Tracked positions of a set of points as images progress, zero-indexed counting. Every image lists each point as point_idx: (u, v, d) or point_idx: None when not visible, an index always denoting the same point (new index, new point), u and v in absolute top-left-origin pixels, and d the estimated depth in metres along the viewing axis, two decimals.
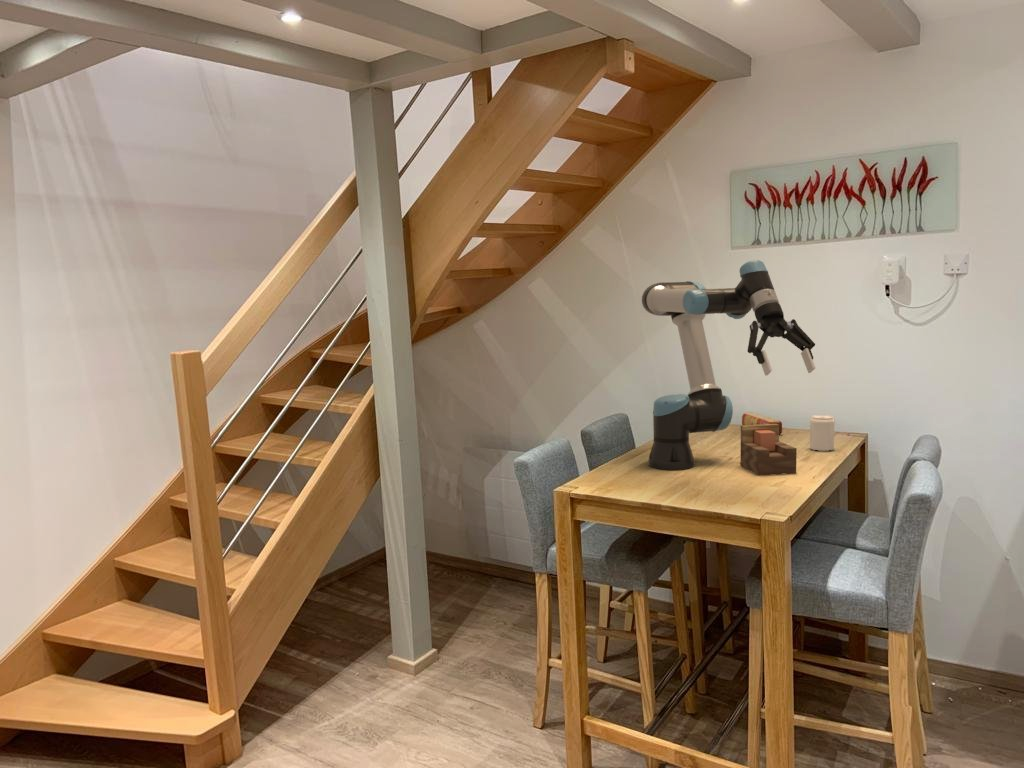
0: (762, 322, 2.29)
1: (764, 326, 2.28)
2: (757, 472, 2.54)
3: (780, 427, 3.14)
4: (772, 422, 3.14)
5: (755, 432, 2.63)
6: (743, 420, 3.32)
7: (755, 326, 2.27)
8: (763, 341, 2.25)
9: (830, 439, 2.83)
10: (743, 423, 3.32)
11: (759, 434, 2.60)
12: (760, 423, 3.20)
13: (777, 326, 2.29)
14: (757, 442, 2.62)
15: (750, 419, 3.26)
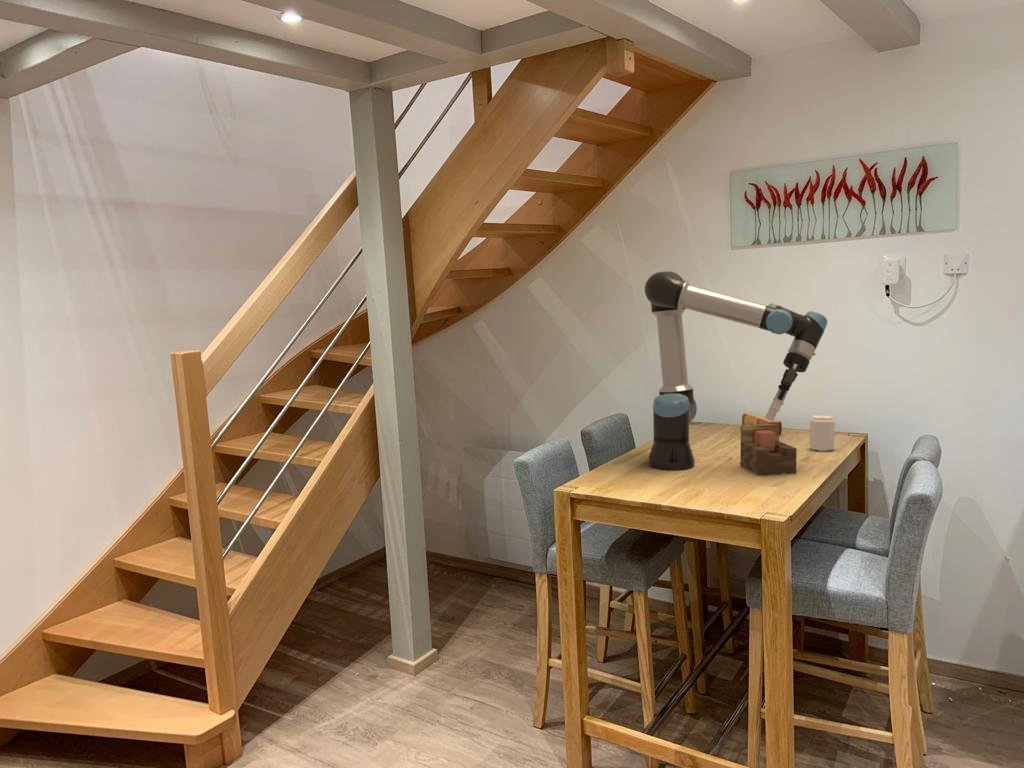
0: None
1: None
2: (757, 472, 2.54)
3: (780, 427, 3.14)
4: (772, 422, 3.14)
5: (755, 432, 2.63)
6: (743, 420, 3.32)
7: (797, 370, 2.53)
8: None
9: (830, 439, 2.83)
10: (743, 423, 3.32)
11: (759, 434, 2.60)
12: (760, 423, 3.20)
13: None
14: (757, 442, 2.62)
15: (750, 419, 3.26)
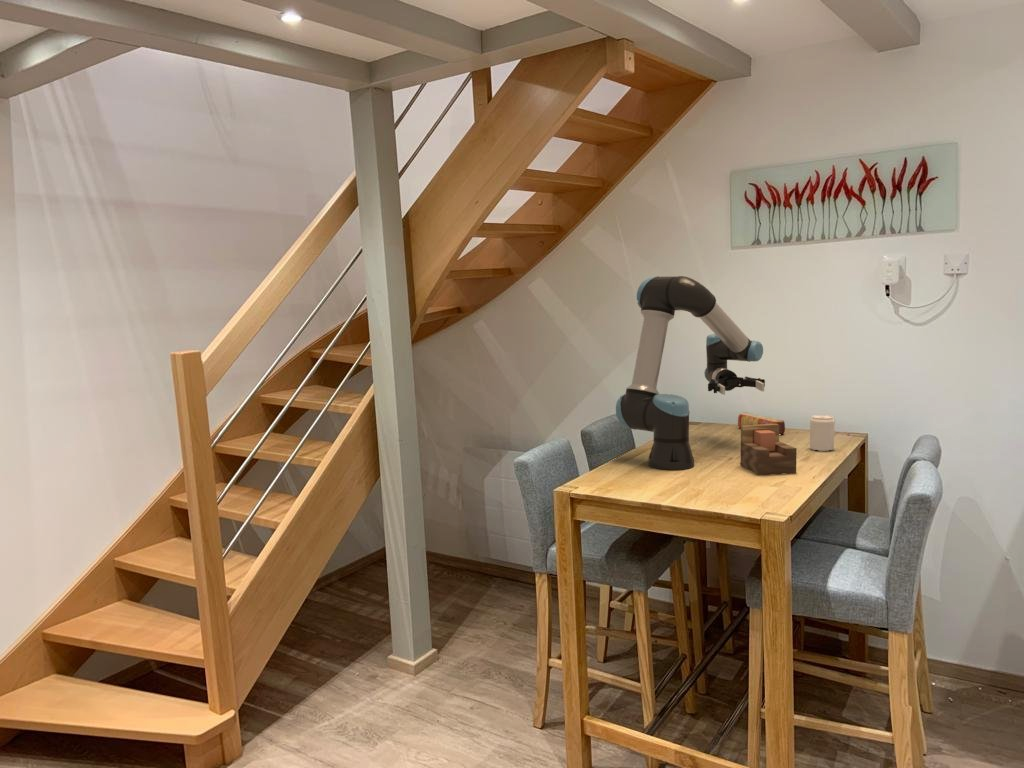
0: None
1: None
2: (757, 472, 2.54)
3: (783, 426, 3.15)
4: (776, 422, 3.14)
5: (755, 432, 2.63)
6: (740, 421, 3.30)
7: None
8: None
9: (830, 439, 2.83)
10: (740, 424, 3.30)
11: (759, 434, 2.60)
12: (762, 423, 3.19)
13: None
14: (757, 442, 2.62)
15: (749, 420, 3.25)
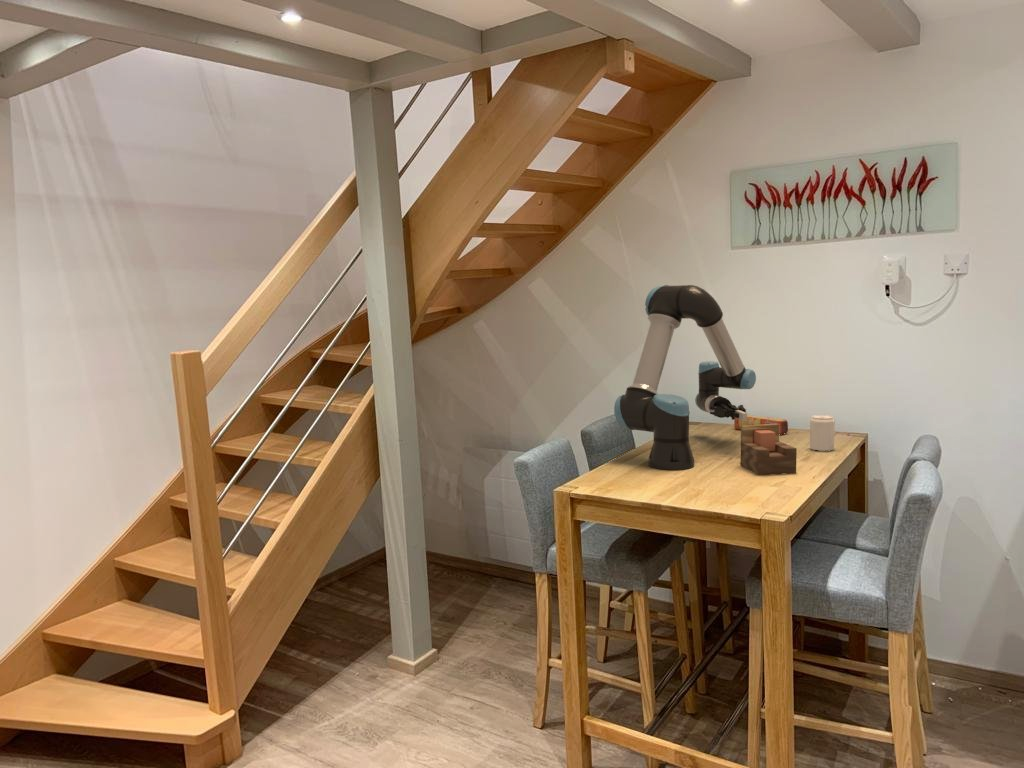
0: None
1: None
2: (757, 472, 2.54)
3: (787, 425, 3.17)
4: (782, 421, 3.15)
5: (755, 432, 2.63)
6: (737, 422, 3.28)
7: None
8: None
9: (830, 439, 2.83)
10: (737, 425, 3.28)
11: (759, 434, 2.60)
12: (765, 423, 3.19)
13: None
14: (757, 442, 2.62)
15: (749, 420, 3.24)
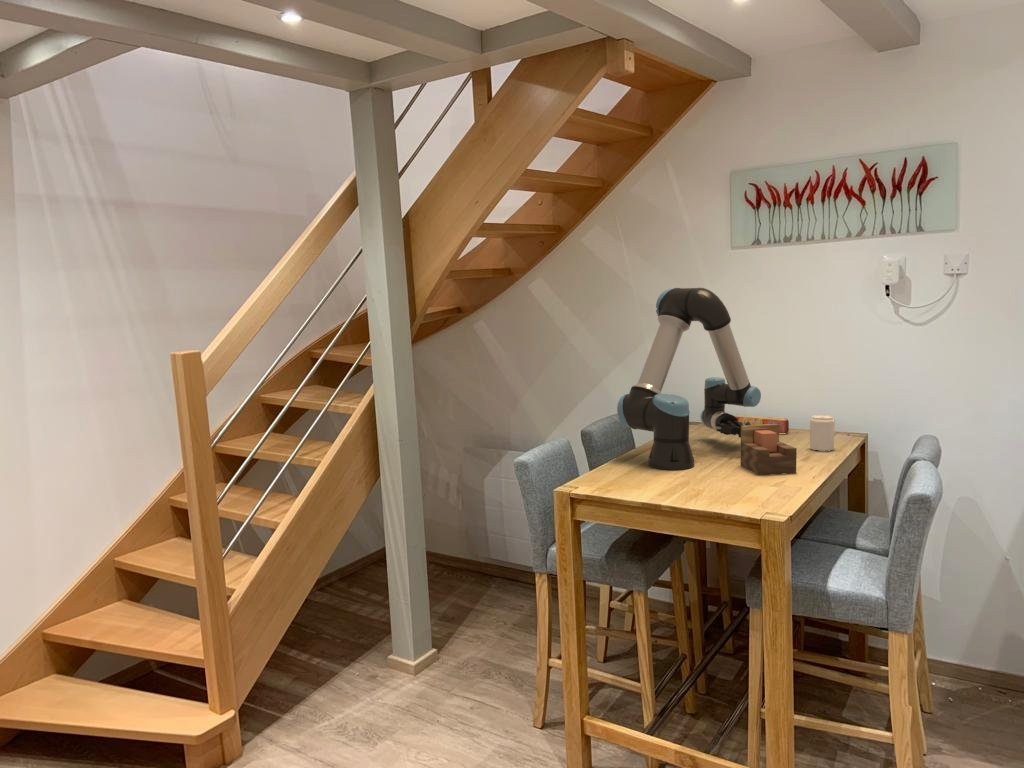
0: None
1: None
2: (757, 472, 2.54)
3: (788, 424, 3.20)
4: (786, 420, 3.17)
5: (757, 433, 2.62)
6: None
7: None
8: None
9: (830, 439, 2.83)
10: None
11: (761, 435, 2.59)
12: (768, 423, 3.19)
13: None
14: (759, 443, 2.60)
15: (750, 421, 3.22)
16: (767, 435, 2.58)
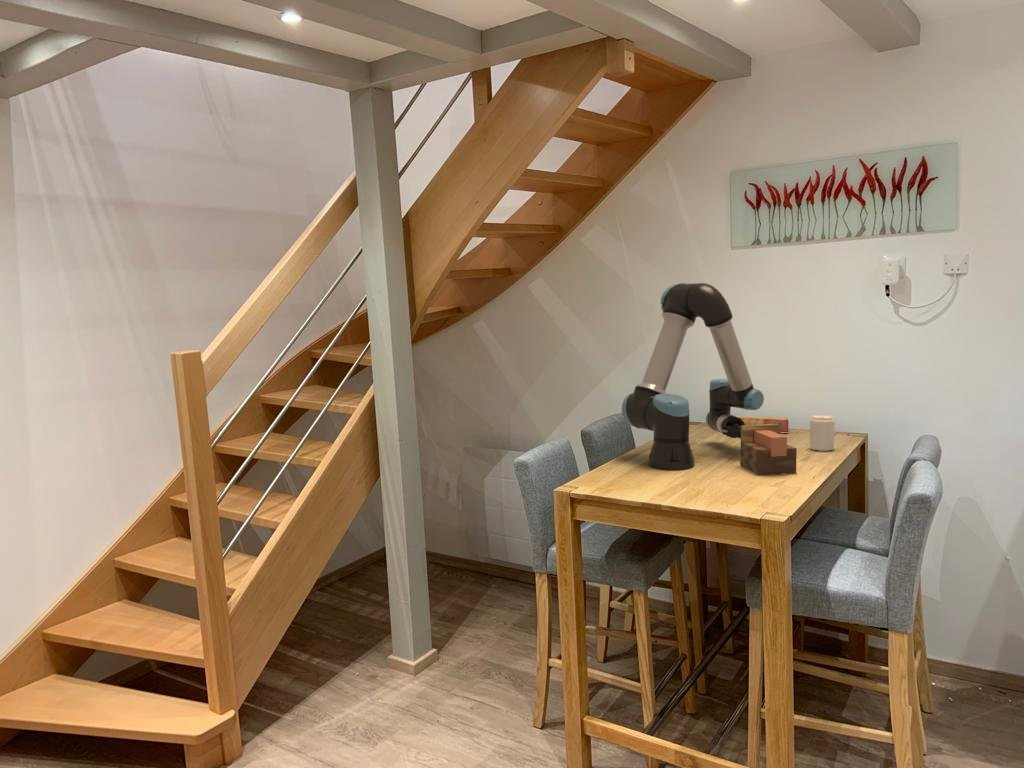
0: None
1: None
2: (757, 472, 2.54)
3: None
4: (787, 420, 3.18)
5: (766, 436, 2.55)
6: None
7: None
8: None
9: (830, 439, 2.83)
10: None
11: (770, 439, 2.52)
12: (770, 423, 3.19)
13: None
14: (768, 447, 2.54)
15: (752, 422, 3.21)
16: (777, 439, 2.52)
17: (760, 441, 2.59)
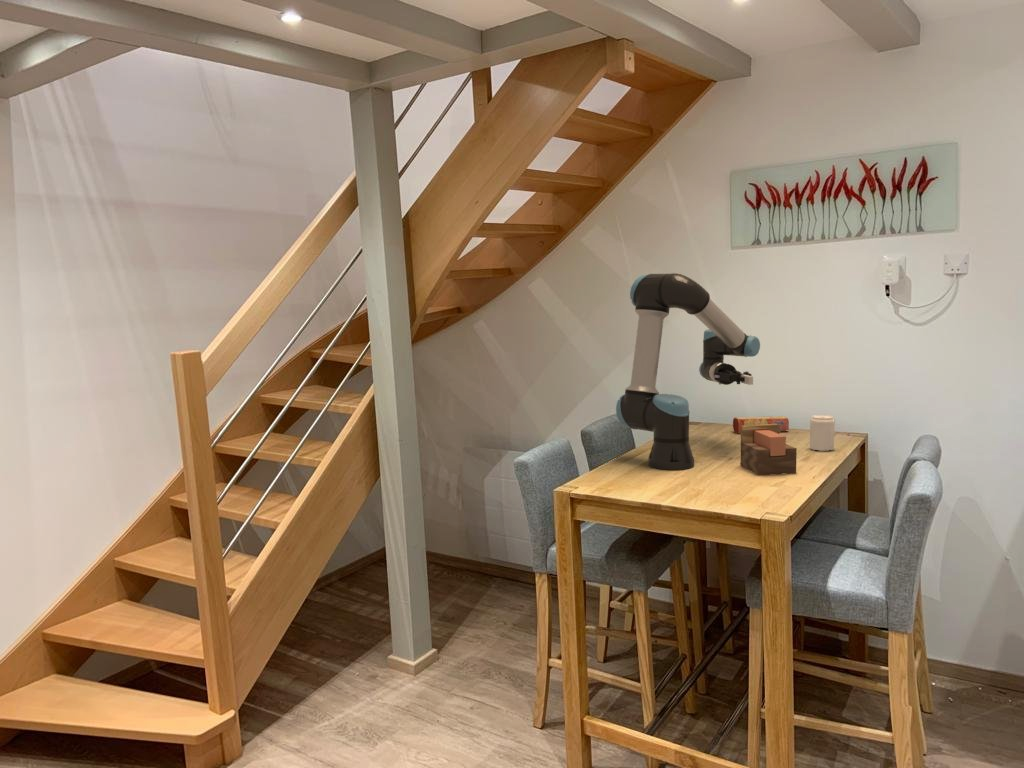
0: None
1: None
2: (757, 472, 2.54)
3: None
4: (787, 418, 3.22)
5: (765, 436, 2.56)
6: None
7: None
8: None
9: (830, 439, 2.83)
10: None
11: (769, 438, 2.53)
12: (773, 422, 3.20)
13: None
14: (767, 446, 2.55)
15: (756, 422, 3.19)
16: (775, 438, 2.52)
17: (759, 440, 2.60)
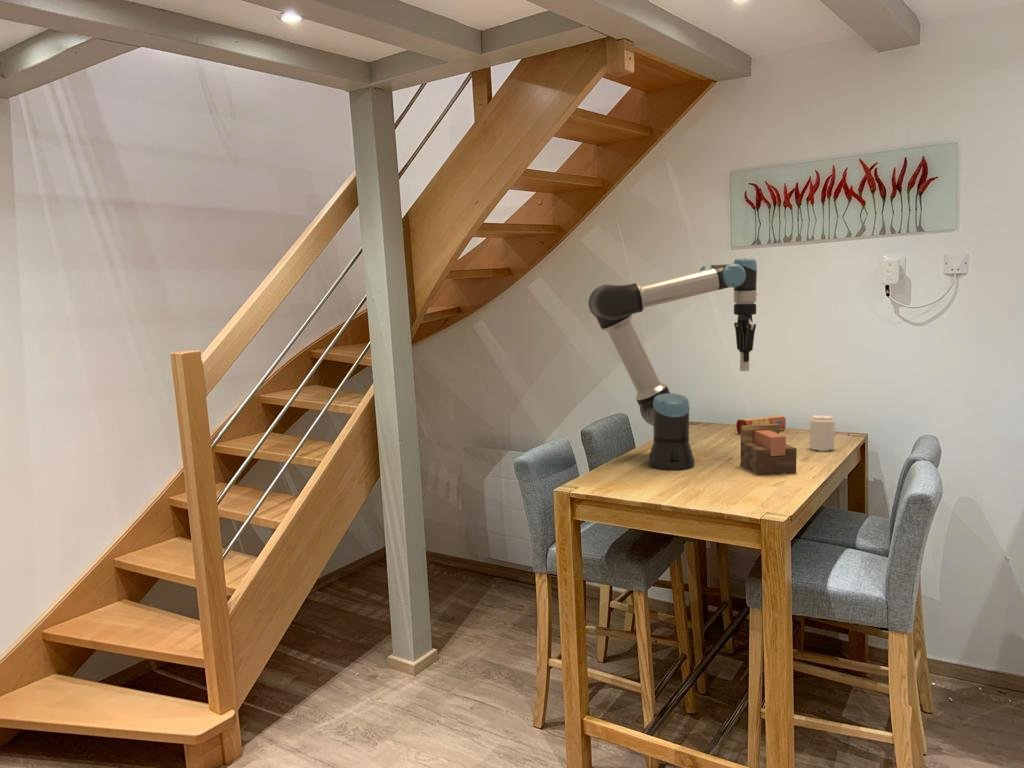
0: (752, 320, 2.76)
1: None
2: (757, 472, 2.54)
3: None
4: None
5: (765, 436, 2.56)
6: None
7: None
8: None
9: (830, 439, 2.83)
10: None
11: (769, 438, 2.53)
12: (774, 422, 3.21)
13: None
14: (767, 446, 2.55)
15: (761, 423, 3.18)
16: (775, 438, 2.52)
17: (759, 440, 2.60)
